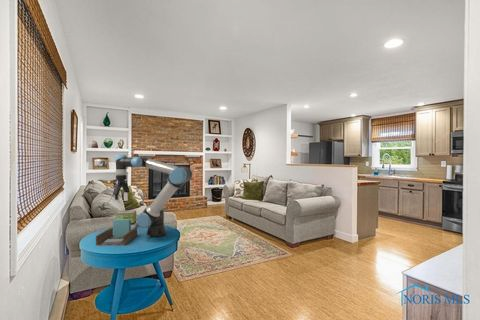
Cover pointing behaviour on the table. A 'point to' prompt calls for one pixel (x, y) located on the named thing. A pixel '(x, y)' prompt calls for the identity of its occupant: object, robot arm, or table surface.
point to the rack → (109, 235)
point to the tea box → (127, 216)
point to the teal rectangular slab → (121, 227)
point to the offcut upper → (113, 241)
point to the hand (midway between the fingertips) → (121, 202)
